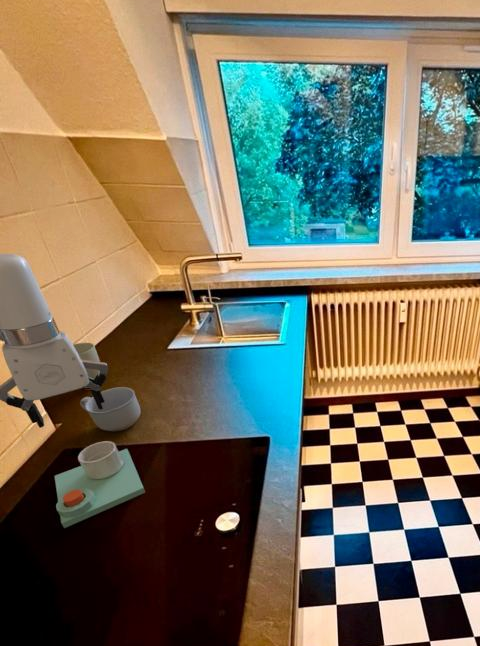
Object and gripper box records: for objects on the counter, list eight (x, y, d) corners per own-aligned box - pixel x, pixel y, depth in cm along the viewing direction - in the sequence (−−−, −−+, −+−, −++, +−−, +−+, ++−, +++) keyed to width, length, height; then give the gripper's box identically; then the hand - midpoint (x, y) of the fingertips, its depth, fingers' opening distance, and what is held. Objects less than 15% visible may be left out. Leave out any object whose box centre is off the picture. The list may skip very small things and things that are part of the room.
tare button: (67, 509, 72) (63, 504, 71) (65, 500, 74) (61, 494, 73) (85, 502, 73) (82, 496, 72) (83, 492, 75) (80, 487, 74)
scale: (64, 528, 71) (57, 517, 70) (57, 480, 82) (50, 470, 80) (145, 492, 78) (140, 482, 77) (129, 453, 89) (124, 442, 87)
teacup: (154, 416, 101) (143, 390, 97) (120, 441, 93) (107, 414, 88) (113, 407, 105) (102, 382, 101) (77, 431, 97) (63, 404, 93)
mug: (66, 389, 115) (47, 353, 108) (99, 375, 122) (84, 340, 115) (85, 399, 110) (67, 361, 103) (119, 383, 117) (104, 347, 110)
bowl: (90, 485, 78) (80, 467, 76) (85, 468, 83) (76, 450, 80) (127, 471, 82) (118, 453, 79) (120, 454, 86) (112, 437, 84)
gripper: (-39, 353, 59) (16, 441, 68) (92, 326, 67) (125, 408, 77) (-35, 337, 64) (15, 422, 73) (86, 315, 73) (118, 392, 82)
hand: (71, 414), depth 75 cm, fingers open, 9 cm apart
